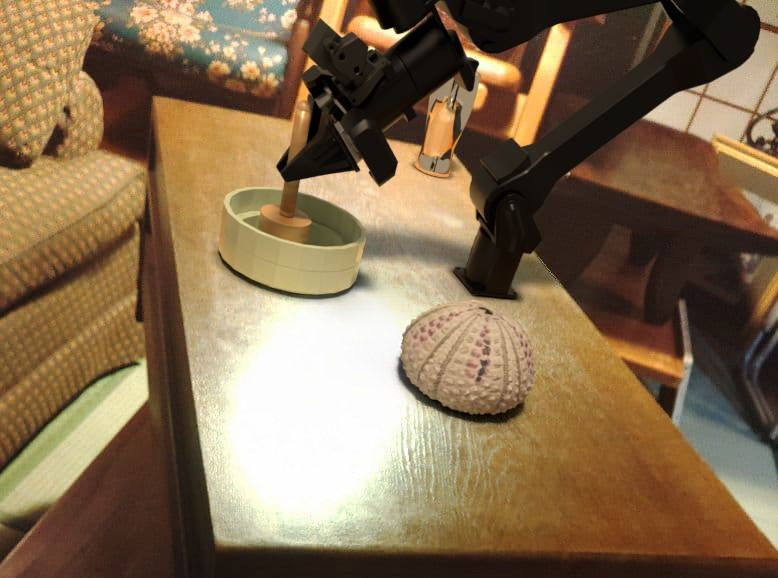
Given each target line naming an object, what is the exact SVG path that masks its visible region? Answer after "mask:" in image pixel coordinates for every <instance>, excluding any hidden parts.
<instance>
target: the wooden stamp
mask: <svg viewBox="0 0 778 578" xmlns="http://www.w3.org/2000/svg"><path fill="white" fill-rule="evenodd" d="M311 115H312V106H311V104H310V103H309V102H308V100H307V99H301V100H299V101H298V102H297V103H296V105H295V113H294V118H293V123H292V131H291V136H290V144H289V146H290V149H289V155H288V161H287V164H288V163H289V162H290V161H291V160H292V159H293V158H294V157H295V156H296V155H297V154H298V153H299V152H300V151H301V150H302V149H303V148H304V147H305V146H306V143H307V138H308V132H309V126H310V120H311ZM300 183H301V180H297V181H292V182H285V181H284V180H283V186H282V189H283V192H282V198H281V205H277V204H270V205H265V206H263V207H262V208H261V210H260V217H259V224H258V230H260V231H262V232H264V233H267V234H270V235H272V236H275V237H278V238H280V239H284V240H288V241H292V242H296V243H300V244H305V245H307V244H308V239H309V233H310V228H311V223H312V220H311V218H310V217H309V216H308V215H307V214H305V213H304V212H302V211H300V210H298V209H295V207H296V201H297V195H298V192H299V188H300Z"/></svg>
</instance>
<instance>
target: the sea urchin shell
mask: <svg viewBox="0 0 778 578" xmlns="http://www.w3.org/2000/svg"><path fill="white" fill-rule="evenodd" d="M401 336H402V340H401V343H400V349H401V353H400V356H399V357H400V360H401V361H402V369H403V370H404V371H405V376H406V377H407V378H409V381H410V383H411V384H412V385H414V386H415V387H416V388H418V389H419V391H420V392H421V393H422V394H423V395H426V396H428V397H429V399H430V400H433V401H438V402H440V403H441V405H442V407H448V408H449V409H450V410H452V411H458V412H460V413H461V412H463V413H469V414H470V416H472V415H478V414H480V415H484V414H490V415H492V416H494V415H497V414H500V413H504V414H505V413H506V412H507V410H512V409H515V408H516V407H517V405H519V404H522V403H523V402H524V399H525V398H528V396H529V395H530V391H532V389H533V388H534V385H533V384H534V383H535V382H536V378H535V374H536V373H537V371H538V370H537V368H536V365H535V361H536V358H537V357H536V356H535V353H534V349H535V347H533V345H532V342H531V340H530V337H529V335H528V334H527V332H526V331H525V329H524V327H523V326H522V324H521V323H520V322H519V321H518V320H517V319H516V318H515V317H513V316H511V315H510V314H508V313H506V312H504V311H502V310H500V309H498V308H496V307H495V306H494V305H492V304H490V303H487V302H485V301H484V300H477V299H469V300H461V301H459V300H458V301H457V300H456V301H450V300H447V302H445V303H443V304H441V303H437V306H435V307H430V309H427V310H426V311H424V312H422V313H421V314H419V315H417V316H416V318H413V319H411V320H410V324H408V325H406V326H405V331H403V333H402V334H401Z"/></svg>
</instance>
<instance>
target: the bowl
mask: <svg viewBox="0 0 778 578" xmlns="http://www.w3.org/2000/svg"><path fill="white" fill-rule="evenodd" d="M282 192H283V187H273V186H247V187H241V188H237V189H236V188H235V189H234V190H232V191H230V192H229V193H227V194H226V195H225V197H224V200H223V203H222V213H221V220H220V221H221V222H220V223H221V224H220V231H219V240H218V247H217V248H218V250H219V253H220V255H221V258H222V259H223V261H225V262H226V263H227V264H228V265H229V266H230V267H231V268H232V269H233V270H235V271H236V272H238V273H240V274H242V275H243V276H245V277H247V278H249V279H250V280H252V281H255V282H256V283H259V284H261V285H263V286H266V287H268V288H272V289H276V290H279V291H282V292H286V293H292V294H300V295H326V294H327V295H328V294H336V293H339V292H341V291H344V290H347V289H350V288H351V287H352V285H353V284H354V283H355V282H356V281H357V277H358V273H359V270H360V265H361V260H362V257H363V252H364V248H365V244H366V240H367V230H366V228H365V226H364V225H363V224H362V222H361V221H360V220H359V219H358V217H356V216H354V215H353V214H352V213H350V212H349V211H348V210H346V209H344V208H343V207H340V206H338V205H337V204H335V203H332V202H331V201H328V200H325V199H323V198H320V197H317V196H315V195H312V194H309V193H304V192H301V191H298V195H297V201H296V207H295V209H298V210H300V211H302V212H304V213H305V214H307V215H308V216H309V217H310V218H311V220H312V223H311V228H310V233H309V239H308V244H307V245H305V244H300V243H296V242H292V241H288V240H284V239H280V238H278V237H275V236H272V235H270V234H267V233H264V232H262V231H260V230H258V224H259V217H260V210H261V208H262V207H263V206H265V205H270V204H277V205H281V198H282Z"/></svg>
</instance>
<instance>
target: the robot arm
mask: <svg viewBox="0 0 778 578" xmlns="http://www.w3.org/2000/svg"><path fill="white" fill-rule="evenodd" d="M366 2H367V3H368V5H369V7H370V9H371V12H372V13H373V15H374V18H375V20H376V21H377V24H378V25H379V28H380V29H381V31H387V30H391V29H393V31H394V34H395V35H402V34H405V33H406V32H407V33H406V34H405V35H403V36H402V37H401V38H400V39H398V40H397V41H396V42H394V43H393V45H391V46H390V47H388V48H387V49H386V50H385V51H384V52H382V53H381V52H380V51H379V50H377V49H373V48H371V49H369V45H367V44H366V43H365V42H364V41H363V40H362V39H361V38H360V37H359V36H358V35H356V33H354V32H353V31H350V32H348V33H347V34H345V35H343V36H341V35H340V34H339V33H338V32H336V30H335V29H333V28H332V27H331V26H330V25H329V24H328V23H327V22H326V21H325V20H323V19H322V18H321V17H319V18H318V19H317V21H316V23H315V25H314V26H313V27H312V30H311V31H310V33H309V35H308V36H307V38H306V40H305V41H304V43H303V45H302V47H301V50H302V51H303V52H304V53H306V54H307V56H308V58H309V59H310V60H311V61H312V62H313V63H314V64H312V65H311V66H310V67H309V68H307V69H306V70H305V71H303V73H301V74H300V75H299V77H300V79H301V81H302V83H303V84H304V86H305V88H306V90H307V92H308V94H307V97H306V100H307V101H308V102H309V103H310V104H311V106H312V115H311V120H310V126H309V132H308V138H307V143H306V146H305V147H304V148H303V149H302V150H301V151H300V152H299V153H298V154H297V155H296V156H295V157H294V158H293V159H292V160H291V161H290V162H289V163H288V164H287V161H288V155H289V149H290V145H289V146H288V148H287V149H286V150H285V152H284V153H283V154H282V156H281V157H280V159H279V160H278V162H277V163H276V165H275V167H276V170H277V171H278V172H279V174H280V177H281V178H282V180H283V182H284V181H285V182H292V181H297V180H300V181H302V180H306V179H311V178H315V177H322V176H328V175H333V174H341V173H349V172H355V173H359V172H360V171H361V168H360V166H359V163H360V162H361V161H363V162H364V164H365V166H366V168H367V170H369V171H368V174H369V176H370V178H371V180H372V181H373V182H374V183H375V184H376V185H377V187H378V188H381V187H382V186H383V185H385V184H386V183H387V182H389V181H390V180H391V179H392V178H394V177H395V176H396V172H397V168H398V164H399V160H398V158H397V157H396V155H395V153H394V151H393V149H392V148H391V145H390V143H389V141H388V140H387V138H386V136H385V134H384V132H386V131H387V130H388V129H389V128H390V127H392V126H393V125H394V124H396V123H397V122H398V121H400V120H401V119H402V118H404V120H406V122H408V123H411V121H413V120H414V119H415V118H417V117H418V115H417V112H416V111H415V108H416V107H417V106H419V105H420V104H421V103H423V102H424V101H425V100H426V99H428V98H430V95H431V94H433V93H434V92H435V91H437V90H438V89H439V88H440V87H442V86H443V85H444V84H446V83H447V82H448V81H449V80H451V79H452V78H454V80H455V82H456V84H457V85H458V86H460V87H461V88H463V89H465V90H466V91H468V92H471V91H472V90H473V89H474V83H475V75H476V71H477V72H478V68H479V66H480V62H479V60H477V59H475V58H473V57H472V56H471V57H470V56H468V55H467V53H466V50H465V48H464V46H463V44H462V42H461V40H460V38H459V35H458V33H457V30H455V29H453V28H448V29H447V27H446V26H445V24H444V23H443V22H444V21H443V20H442V18H441V16H440V14H439V11H438V9H437V8H439V9H440V10H441V11H442V12H443V13H444V14H445V15H447V16H448V17H449V18H451V19H452V20H453V21H454V23H455V26H456V28H457V29H458V32H459V33H460V34H461V35H462V36H463V37H464V38H465V39H466V40H468V41H469V42H470V43H471V44H473V45H474V46H475V47H476V48H477V49H478V50H480V51H481V52H483V53H485V54H489V55H497V54H501V53H504V52H506V51H509V50H511V49H513V48H516V47H518V46H521V45H523V44H525V43H528V42H530V41H531V40H533V39H535V38H537V36H539V35H540V34H541V33H543V32H545V31H546V30H548V29H549V28H553V27H555V26H557V25H561V24H565V23H570V22H574V21H579V20H584V19H588V18H593V17H597V16H601V15H607V14H611V13H616V12H620V11H624V10H629V9H635V8H639V7H644V6H648V5H653V4H657V3H658V4H659V5H660V8H661V9H662V11H663V12H664V14H665V16H666V17H667V18H668V20H669V21H670V22H671V23H670V24H669V25H668V27H667V28H666V29H665V32H664V33H663V35H662V36H661V38H660V40H659V42H658V43H657V45H656V47H655V48H654V49H653V51H652V52H651V53H650V54H649V55H648V56H647V57H646V58H644V59H643V60H642V61H640V62H639V63H638V64H637V65H636V66H634V67H633V68H631V69H629V71H627V72H626V73H625V74H624V75H622V76H621V77H620V78H618V79H617V80H615V82H613V83H612V84H611V85H609V86H607V87H606V88H605V89H604V90H602V91H601V92H600V93H599V94H597V95H595V97H593V98H592V99H591V100H589V101H588V102H587V103H585V105H583V106H581V107H580V108H579V109H577V110H576V111H575V112H574V113H572V114H571V115H569V116H568V117H567V118H566V119H564V120H563V121H562V122H561V123H559V124H558V125H557V126H556V127H554V128H553V129H551V130H550V131H549V132H547V133H546V134H545V135H543V137H541V138H540V139H538V140H537V141H535V142H532V143H529V144H526V145H522V146H521V145H520V144H519V142H517V141H516V139H514V138H513V137H510V138H508V139H506V140H505V141H504V142H503V143H502V144H501V145H500V146H499V147H498V148H497V149H496V150H495V151H494V152H493V153H491V154H489V155H487V156H484V157H481V158H480V162H481V163H482V164H481V165H480V166H479V167H478V168H477V169H476V170H475V171H474V173H473V174H472V175H471V180H470V184H469V188H468V189H469V190H468V191H469V198H470V201H471V203H472V205H473V206H474V207H475V220H476V221H477V222H478V223H479V227H478V229H477V233H476V235H475V237H474V239H473V243H472V245H471V248H470V252H469V254H468V257H467V260H466V263H465V267H462V266H454V268H453V270H452V271H453V273H455V275H456V276H457V277H458V278H459V280H460V281H461V282H462V283H463V285H464V286H466V288H467V289H468V290H469V292H471V294H473V295H476V296H485V297H495V298H505V299H518V297H519V293H518V292H517V291H516V290H515V289H514V288H513V286H512V284H513V281H514V279H515V277H516V274H517V271H518V269H519V266H520V264H521V261H522V258H523V256H524V254H526V255H532V254H533V253H534V251H535V250H536V249H537V247H539V245H540V243H542V241H543V237H542V235H541V233H540V230H539V228H538V226H537V223H536V221H535V219H534V217H533V216H534V215H535V214H536V213H537V212H538V211H539V210H540V209H541V208H542V207H543V206H544V205H545V203H546V201H547V200H548V198H549V196H550V195H551V193H552V192H553V190H554V188H555V187H556V185H557V183H558V182H559V181H560V180H561V179H562V178H563V177H565V176H566V175H567V174H568V173H570V172H572V171H573V170H574V169H575V168H577V167H578V166H580V165H581V164H583V163H584V162H585V161H587V160H588V159H589V158H590V157H592V156H593V155H594V154H595V153H597V152H599V151H600V150H601V149H603V148H604V147H605V146H607V145H608V144H610V142H612V141H613V140H615V139H616V138H617V137H618V136H620V135H621V134H623V133H624V132H625V131H627V130H629V128H631V127H632V126H633V125H635V124H637V123H638V122H639V121H640V120H642V119H643V118H645V117H646V116H647V115H648V114H649V113H651V112H652V111H654V110H656V108H658V107H660V105H663V103H665V102H666V101H667V100H669V99H670V98H672V97H673V96H674V95H677V94H678V93H681V92H684V91H688V90H691V89H695V88H697V87H701V86H704V85H708V84H711V83H713V82H715V81H716V80H718V79H720V78H722V77H724V76H726V75H728V74H730V73H731V72H733V71H735V70H737V69H739V68H740V67H741V66H743V65H744V64H745V63H746V62H747V61H748V60H749V59H750V58H751V57H752V56H753V55H754V53H755V51H756V50H755V49H756V45H757V44H758V41H759V39H760V35H761V29H762V26H761V25H762V23H761V17H760V14H759V13H758V10H756V8H754V7H753V6H752V5H749V4H747V3H745V2H741V1H739V0H366Z"/></svg>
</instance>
